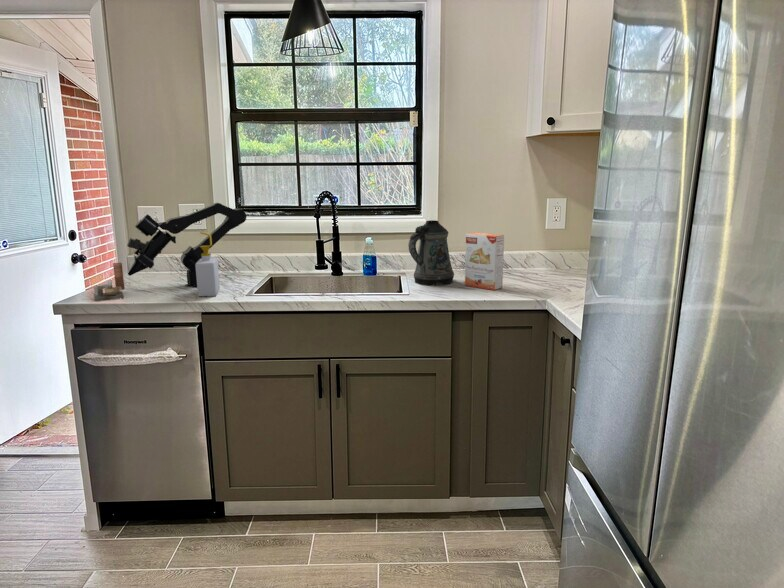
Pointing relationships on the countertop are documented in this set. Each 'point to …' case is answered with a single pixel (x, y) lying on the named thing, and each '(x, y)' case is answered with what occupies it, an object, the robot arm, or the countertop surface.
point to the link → (116, 280)
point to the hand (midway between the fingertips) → (128, 274)
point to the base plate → (109, 296)
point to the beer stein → (431, 255)
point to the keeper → (99, 288)
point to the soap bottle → (207, 272)
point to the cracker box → (484, 260)
